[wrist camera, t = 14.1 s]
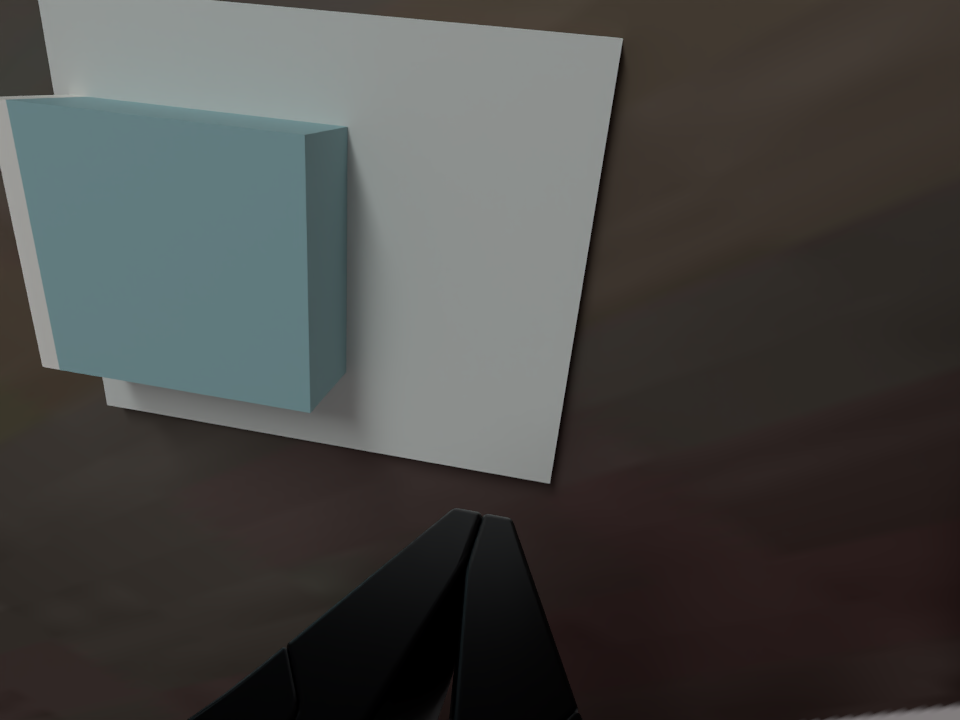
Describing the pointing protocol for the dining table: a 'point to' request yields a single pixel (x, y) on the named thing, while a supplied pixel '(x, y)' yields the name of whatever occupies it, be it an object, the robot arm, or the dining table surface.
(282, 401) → the slab
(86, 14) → the mat
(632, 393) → the dining table surface
